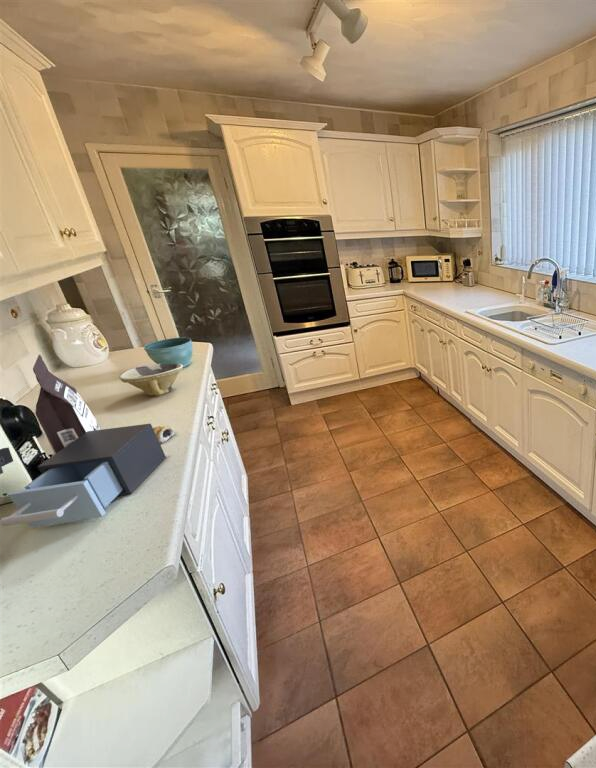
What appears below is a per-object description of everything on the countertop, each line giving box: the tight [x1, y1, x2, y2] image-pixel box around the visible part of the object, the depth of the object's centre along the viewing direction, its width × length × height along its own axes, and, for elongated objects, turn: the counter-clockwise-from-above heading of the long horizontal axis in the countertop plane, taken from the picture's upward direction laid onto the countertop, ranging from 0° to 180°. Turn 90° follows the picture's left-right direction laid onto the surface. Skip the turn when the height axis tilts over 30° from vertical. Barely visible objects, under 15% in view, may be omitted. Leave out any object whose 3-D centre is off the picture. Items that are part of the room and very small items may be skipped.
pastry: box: [152, 425, 176, 444], centre depth 116 cm, size 9×7×4 cm
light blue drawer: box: [0, 460, 124, 529], centre depth 86 cm, size 21×13×9 cm, turn 15°
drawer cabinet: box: [37, 423, 167, 497], centre depth 97 cm, size 16×14×11 cm
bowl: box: [118, 363, 184, 397], centre depth 147 cm, size 18×18×10 cm
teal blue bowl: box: [143, 337, 194, 368], centre depth 172 cm, size 16×16×11 cm
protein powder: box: [32, 354, 102, 455], centre depth 104 cm, size 16×9×28 cm, turn 44°
